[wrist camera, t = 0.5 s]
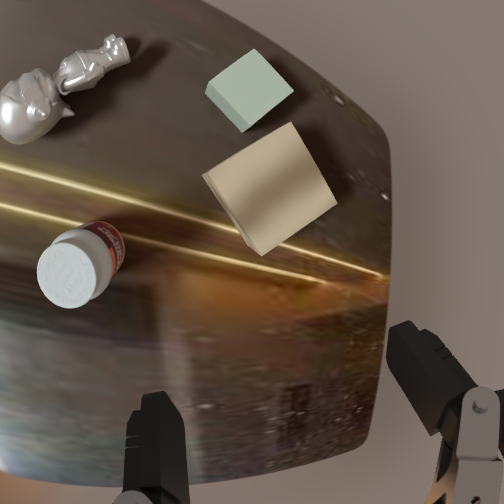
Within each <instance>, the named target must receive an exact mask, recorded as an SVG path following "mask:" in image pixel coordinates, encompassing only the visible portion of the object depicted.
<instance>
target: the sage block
mask: <svg viewBox="0 0 504 504" xmlns="http://www.w3.org/2000/svg"><path fill="white" fill-rule="evenodd" d="M293 91H294V90H293V89H292V88H291V87H290V86H289V85H288V84H287V83H286V81H285V80H284V79H283V78H282V77H281V76H280V75H279V74H278V73H277V72H276V71H275V69H274V68H273V67H272V66H271V65H270V64H269V63H268V62H267V61H266V60H265V59H264V58H263V57H262V56H261V55H260V54H259V53H258V52H257V51H256V50H255V49H253V50H252V51H250V52H249V53H247V54H246V55H244V56H243V57H242V58H240V59H239V60H237V61H236V62H235V63H233V64H232V65H231V66H229V67H228V68H226V69H225V70H224V71H222V72H221V73H220V74H218V75H217V76H216V77H215V78H213V79H212V80H211V81H209V83H208V86H207V89H206V91H205V94H206V95H207V96H208V97H209V98H210V99H211V100H212V101H213V102H214V103H215V104H216V105H217V106H218V107H219V109H220V110H221V111H222V112H223V113H224V114H225V115H226V116H227V117H228V118H229V119H230V120H231V121H232V122H233V123H234V125H235V126H236V127H237V128H238V129H239V130H240V131H241V132H242V133H243V132H244V131H245V130H247V129H248V128H249V127H251V126H252V125H253V124H254V123H255V122H257V121H258V120H259V119H260V118H261V117H263V116H264V115H265V114H266V113H267V112H269V111H270V110H271V109H272V108H273V107H275V106H276V105H277V104H278V103H280V102H281V101H282V100H283V99H285V98H286V97H287V96H288V95H290V94H291V93H292V92H293Z"/></svg>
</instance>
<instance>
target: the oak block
mask: <svg viewBox="0 0 504 504" xmlns="http://www.w3.org/2000/svg"><path fill="white" fill-rule="evenodd" d="M202 176H203V178H204V179H205V181H206V182H207V184H208V185H209V187H210V188H211V190H212V192H213V193H214V195H215V196H216V198H217V199H218V201H219V202H220V204H221V205H222V207H223V208H224V210H225V211H226V213H227V215H228V216H229V218H230V219H231V221H232V222H233V224H234V225H235V227H236V228H237V230H238V231H239V233H240V234H241V236H242V237H243V239H244V241H245V242H246V244H247V245H248V246H249V247H251V248H252V249H253V250H254V251H256V252H257V253H258V254H259V255H261V256H263V255H264V254H266V253H267V252H269V251H270V250H271V249H273V248H274V247H276V246H277V245H279V244H280V243H282V242H283V241H284V240H286V239H287V238H289V237H290V236H292V235H293V234H294V233H296V232H297V231H299V230H300V229H302V228H303V227H305V226H306V225H307V224H309V223H310V222H312V221H313V220H315V219H316V218H317V217H319V216H320V215H322V214H323V213H325V212H326V211H327V210H329V209H330V208H332V207H333V206H335V205H336V204H337V202H336V200H335V198H334V196H333V194H332V192H331V190H330V189H329V187H328V185H327V183H326V181H325V179H324V178H323V176H322V174H321V172H320V170H319V169H318V167H317V165H316V163H315V162H314V160H313V158H312V156H311V155H310V153H309V151H308V150H307V148H306V146H305V144H304V143H303V141H302V139H301V138H300V136H299V134H298V133H297V131H296V129H295V128H294V126H293V124H292V123H291V122H289V123H287V124H285V125H284V126H282V127H280V128H278V129H276V130H274V131H272V132H271V133H269V134H267V135H265V136H264V137H262V138H260V139H259V140H257V141H255V142H254V143H252V144H250V145H249V146H247V147H245V148H244V149H242V150H240V151H239V152H237V153H236V154H234V155H232V156H231V157H229V158H228V159H226V160H224V161H223V162H221V163H220V164H218V165H216V166H215V167H213V168H212V169H210V170H209V171H207V172H206V173H204V174H203V175H202Z"/></svg>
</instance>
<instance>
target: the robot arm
mask: <svg viewBox="0 0 504 504" xmlns="http://www.w3.org/2000/svg"><path fill="white" fill-rule="evenodd" d="M386 360H387V364H388V367H389V369H390V371H391V372H392V374H393V376H394V377H395V379H396V380H397V382H398V384H399V385H400V387H401V388H402V390H403V392H404V393H405V395H406V397H407V398H408V400H409V402H410V403H411V405H412V406H413V408H414V410H415V411H416V413H417V415H418V416H419V418H420V419H421V421H422V423H423V425H424V426H425V428H426V430H427V431H428V433H429V435H430V436H432V435H434V434H436V433H438V432H440V433H441V435H442V436H443V438H442V442H441V447H440V453H439V457H438V462H437V467H436V472H435V476H434V480H433V484H432V487H431V489H430V491H429V493H428V496H427V498H426V501H425V504H498V501H499V495H500V489H501V482H502V474H503V462H502V460H501V459H499V458H498V448H499V450H500V452H501V454H502V456H503V458H504V389H502V390H498V391H493V390H491V389H489V388H487V387H479V386H478V385H477V384H476V383H475V382H474V381H473V380H472V378H471V377H470V376H469V374H468V373H467V372H466V371H465V369H464V368H463V367H462V366H461V364H460V363H459V362H458V361H457V359H456V358H455V357H454V356H452V353H451V352H450V351H449V349H448V348H446V347H445V345H444V343H443V342H442V341H441V340H440V339H439V337H438V336H437V335H435V334H433V333H431V332H430V331H428V330H426V329H423V330H421V331H419V330H418V329H417V327H416V326H415V325H414V324H413V323H412V322H411V321H405V322H403V323H400V324H398V325H395V326H393V327H390V329H389V333H388V343H387V352H386ZM126 437H127V439H126V444H125V447H126V450H125V460H124V481H123V490H122V493H121V494H120V495H118V496H117V497H116V499H115V500H114V502H113V504H190V496H189V485H188V473H187V459H186V444H185V428H184V423H183V419H182V417H181V414H180V413H179V411H178V410H177V408H176V407H175V405H174V404H173V403H172V401H171V400H170V398H169V397H168V395H167V394H166V392H164V391H160V392H155V393H149V394H144V395H143V396H142V402H141V410H137V411H133V413H132V415H131V417H130V419H129V421H128V423H127V431H126Z"/></svg>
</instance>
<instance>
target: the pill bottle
mask: <svg viewBox="0 0 504 504" xmlns="http://www.w3.org/2000/svg"><path fill="white" fill-rule="evenodd" d="M124 256H125V245H124V241H123V238H122V236H121V235H120V233H119V232H118V230H117V229H116V228H115V227H113V226H112V225H110V224H108V223H106V222H103V221H92V222H88V223H85V224H83V225H81V226H78V227H76V228H74V229H71V230H69V231H66V232H64V233H62V234H61V235H60V236H59V237H57V238H56V239H55V240H54V242H53V243H52V245H51V246H50V247H48V248H47V249H46V250H45V251H44V252H43V254H42V255H41V257H40V259H39V262H38V267H37V277H38V282H39V285H40V287H41V289H42V291H43V293H44V294H45V296H46V297H47V298H48V299H49V300H50V301H52V302H53V303H55V304H56V305H58V306H61V307H64V308H76V307H80V306H82V305H84V304H85V303H87V302H88V301H89V300H90V299H93V298H95V297H97V296H98V295H100V294H101V293H102V292H103V291H104V290H105V288H106V287H107V286H108V284H109V283H110V281H111V280H112V278H113V277H114V275H115V274H116V272H117V271H118V269H119V268H120V266H121V265H122V262H123V260H124Z"/></svg>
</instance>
